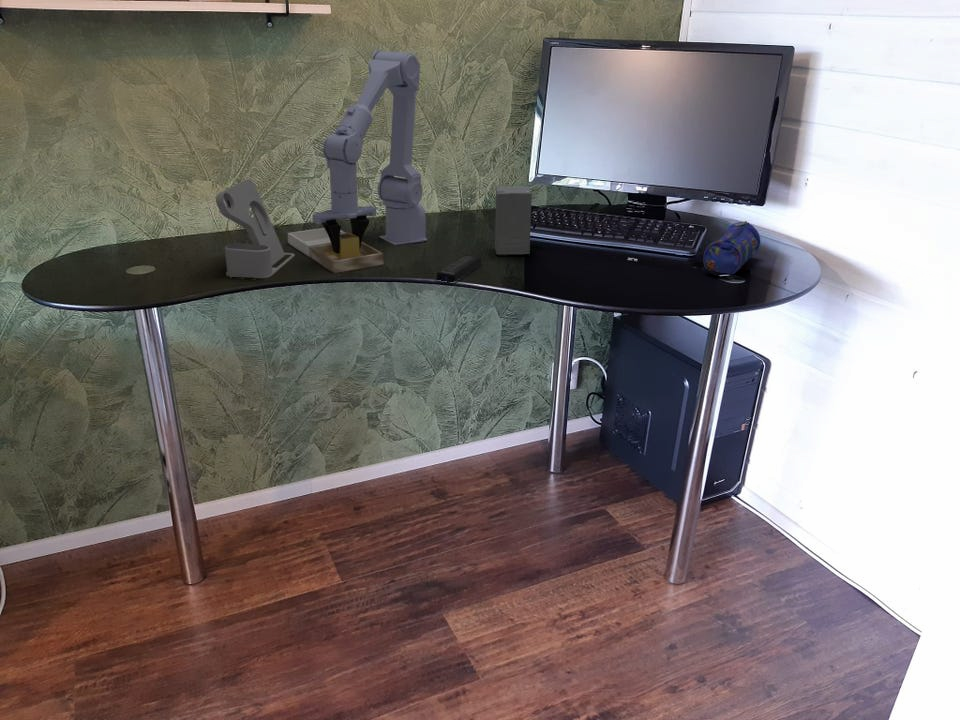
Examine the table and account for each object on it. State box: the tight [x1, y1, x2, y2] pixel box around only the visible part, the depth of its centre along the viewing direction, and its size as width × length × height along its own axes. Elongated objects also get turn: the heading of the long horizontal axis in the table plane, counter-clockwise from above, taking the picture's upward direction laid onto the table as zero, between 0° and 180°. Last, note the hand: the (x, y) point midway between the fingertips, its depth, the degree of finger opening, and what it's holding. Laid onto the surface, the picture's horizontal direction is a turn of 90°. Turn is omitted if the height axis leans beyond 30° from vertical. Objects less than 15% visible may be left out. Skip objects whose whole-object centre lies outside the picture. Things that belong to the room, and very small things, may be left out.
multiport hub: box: [436, 254, 482, 282], centre depth 172 cm, size 4×14×2 cm, turn 156°
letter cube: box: [333, 231, 360, 259], centre depth 174 cm, size 4×4×5 cm
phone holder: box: [215, 179, 296, 279], centre depth 168 cm, size 17×10×18 cm, turn 172°
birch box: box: [310, 241, 385, 276], centre depth 175 cm, size 12×12×3 cm
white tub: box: [287, 227, 346, 258], centre depth 184 cm, size 12×12×3 cm
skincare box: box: [494, 185, 533, 255], centre depth 183 cm, size 8×7×16 cm
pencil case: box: [702, 220, 761, 275], centre depth 181 cm, size 22×9×10 cm, turn 150°
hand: (346, 250), depth 174 cm, fingers closed on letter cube, 4 cm apart
